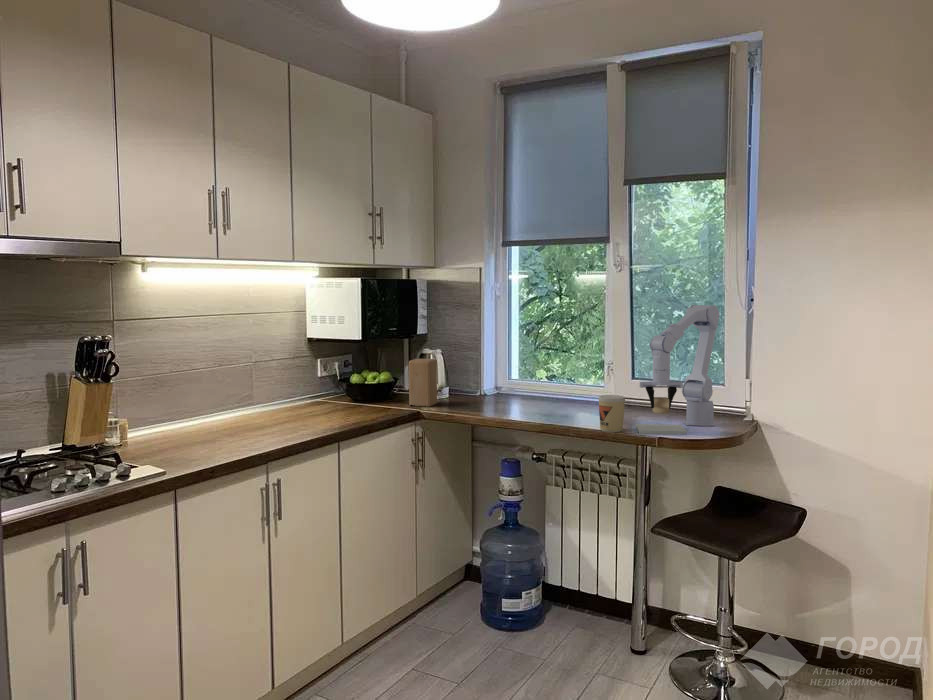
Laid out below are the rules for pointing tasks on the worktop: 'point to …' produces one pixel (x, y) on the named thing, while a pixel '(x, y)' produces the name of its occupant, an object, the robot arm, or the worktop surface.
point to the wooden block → (423, 382)
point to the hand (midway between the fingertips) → (660, 408)
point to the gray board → (660, 429)
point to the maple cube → (661, 405)
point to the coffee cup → (611, 412)
